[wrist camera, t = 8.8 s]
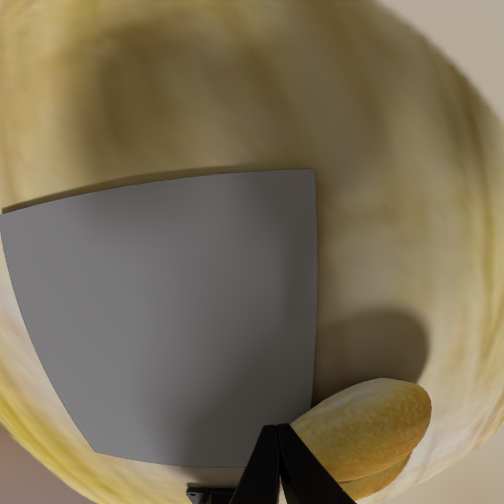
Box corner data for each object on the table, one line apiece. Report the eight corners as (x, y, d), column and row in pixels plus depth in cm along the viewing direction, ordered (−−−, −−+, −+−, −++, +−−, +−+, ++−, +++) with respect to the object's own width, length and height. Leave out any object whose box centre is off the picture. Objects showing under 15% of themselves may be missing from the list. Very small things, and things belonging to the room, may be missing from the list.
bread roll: (429, 348, 11) (476, 398, 7) (390, 444, 14) (412, 485, 10) (262, 394, 10) (280, 476, 6) (272, 477, 13) (283, 527, 9)
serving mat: (303, 458, 13) (304, 461, 13) (95, 449, 13) (94, 451, 13) (312, 169, 9) (314, 169, 9) (1, 214, 9) (-3, 215, 9)
